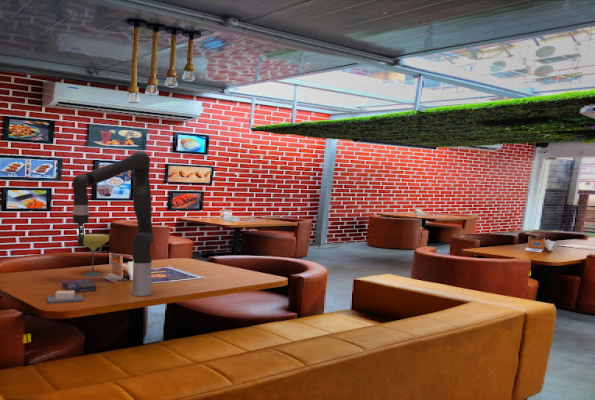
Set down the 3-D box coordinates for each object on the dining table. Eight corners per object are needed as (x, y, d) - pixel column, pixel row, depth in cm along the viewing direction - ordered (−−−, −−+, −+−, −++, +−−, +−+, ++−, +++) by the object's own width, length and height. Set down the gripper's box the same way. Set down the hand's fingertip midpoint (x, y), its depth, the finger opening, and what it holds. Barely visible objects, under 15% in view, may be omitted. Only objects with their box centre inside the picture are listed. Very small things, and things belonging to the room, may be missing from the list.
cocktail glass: (102, 271, 339) (103, 232, 338) (112, 276, 325) (113, 235, 324) (72, 273, 328) (73, 233, 327) (82, 278, 314) (83, 236, 313)
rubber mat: (82, 296, 272) (82, 294, 272) (83, 301, 261) (83, 299, 261) (47, 297, 266) (47, 295, 266) (47, 303, 255) (47, 301, 255)
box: (61, 287, 294) (68, 294, 278) (61, 281, 293) (68, 287, 277) (87, 285, 301) (96, 291, 285) (87, 278, 301) (96, 284, 285)
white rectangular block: (55, 299, 260) (55, 292, 260) (57, 296, 265) (57, 290, 265) (73, 298, 262) (73, 292, 262) (74, 296, 267) (74, 290, 267)
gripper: (72, 212, 279) (72, 243, 280) (73, 214, 266) (73, 247, 267) (87, 212, 282) (87, 243, 283) (89, 214, 269) (89, 246, 270)
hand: (80, 245), depth 275 cm, fingers open, 8 cm apart
